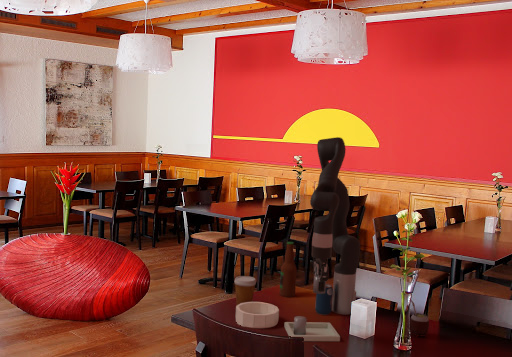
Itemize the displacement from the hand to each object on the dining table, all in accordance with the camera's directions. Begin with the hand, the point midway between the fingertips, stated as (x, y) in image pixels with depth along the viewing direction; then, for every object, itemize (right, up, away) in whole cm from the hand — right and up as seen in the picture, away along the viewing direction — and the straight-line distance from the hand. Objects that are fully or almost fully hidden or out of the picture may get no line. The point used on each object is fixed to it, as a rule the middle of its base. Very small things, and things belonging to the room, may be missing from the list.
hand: (319, 289), depth 216 cm
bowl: (-24, -15, +11) cm, 30 cm away
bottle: (-9, -13, +50) cm, 53 cm away
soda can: (+5, -15, +27) cm, 31 cm away
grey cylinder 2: (0, -1, 0) cm, 1 cm away
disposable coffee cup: (-29, -13, +31) cm, 44 cm away
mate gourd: (+38, -19, +5) cm, 43 cm away
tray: (-3, -17, 0) cm, 17 cm away
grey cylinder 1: (-8, -17, -1) cm, 18 cm away
